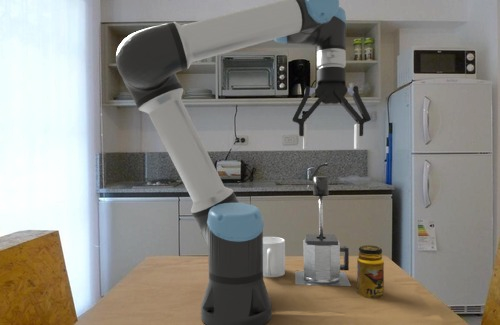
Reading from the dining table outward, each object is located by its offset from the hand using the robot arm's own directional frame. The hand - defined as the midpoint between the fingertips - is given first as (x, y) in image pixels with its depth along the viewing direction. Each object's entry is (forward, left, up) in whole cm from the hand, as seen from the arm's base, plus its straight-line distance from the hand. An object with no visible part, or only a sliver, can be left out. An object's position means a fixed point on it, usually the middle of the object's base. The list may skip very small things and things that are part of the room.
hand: (330, 149), depth 98 cm
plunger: (-3, +1, -26) cm, 27 cm away
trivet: (-3, +1, -36) cm, 36 cm away
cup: (-17, +3, -36) cm, 40 cm away
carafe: (-1, +1, -35) cm, 35 cm away
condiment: (+7, -9, -36) cm, 38 cm away
